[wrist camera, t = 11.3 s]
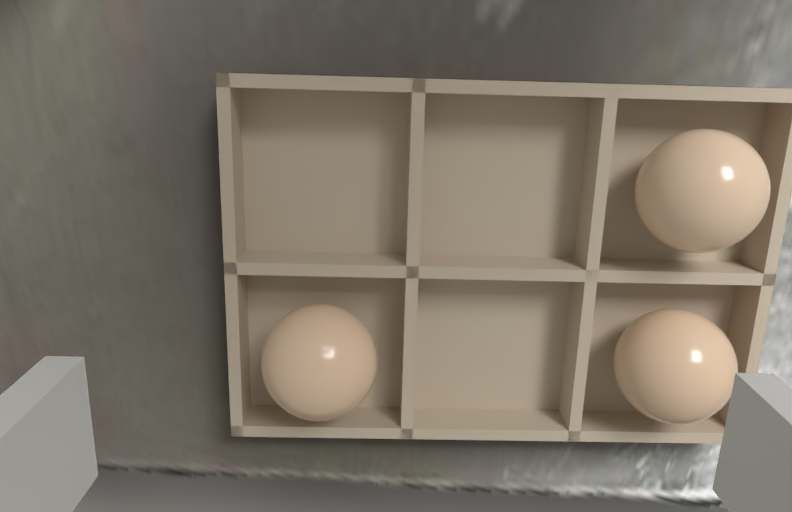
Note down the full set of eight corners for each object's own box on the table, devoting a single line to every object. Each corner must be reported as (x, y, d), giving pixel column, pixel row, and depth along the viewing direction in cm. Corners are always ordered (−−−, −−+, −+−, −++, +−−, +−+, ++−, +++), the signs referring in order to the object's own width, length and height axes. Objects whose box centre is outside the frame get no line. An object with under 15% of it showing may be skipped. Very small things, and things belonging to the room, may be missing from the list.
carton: (229, 72, 31) (215, 72, 29) (776, 88, 32) (810, 89, 29) (242, 410, 36) (231, 436, 33) (718, 417, 37) (744, 443, 34)
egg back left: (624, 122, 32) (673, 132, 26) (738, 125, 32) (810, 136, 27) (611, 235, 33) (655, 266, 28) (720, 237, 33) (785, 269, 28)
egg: (270, 287, 34) (247, 327, 28) (379, 289, 34) (378, 329, 28) (272, 387, 35) (251, 443, 30) (377, 388, 35) (375, 445, 30)
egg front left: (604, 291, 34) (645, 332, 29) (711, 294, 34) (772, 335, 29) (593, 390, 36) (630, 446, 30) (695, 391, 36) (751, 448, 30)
